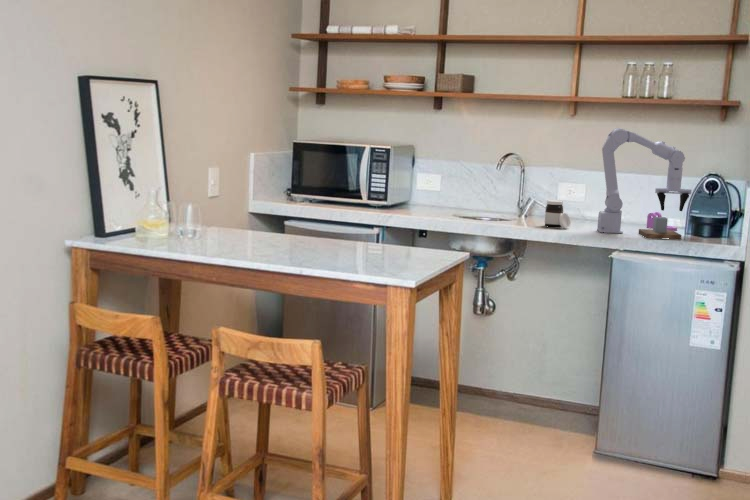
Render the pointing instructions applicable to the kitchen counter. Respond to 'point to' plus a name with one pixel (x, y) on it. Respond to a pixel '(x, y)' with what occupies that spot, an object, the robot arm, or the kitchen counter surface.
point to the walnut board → (659, 234)
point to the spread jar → (556, 215)
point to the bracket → (651, 220)
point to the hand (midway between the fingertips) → (671, 210)
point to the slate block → (660, 225)
